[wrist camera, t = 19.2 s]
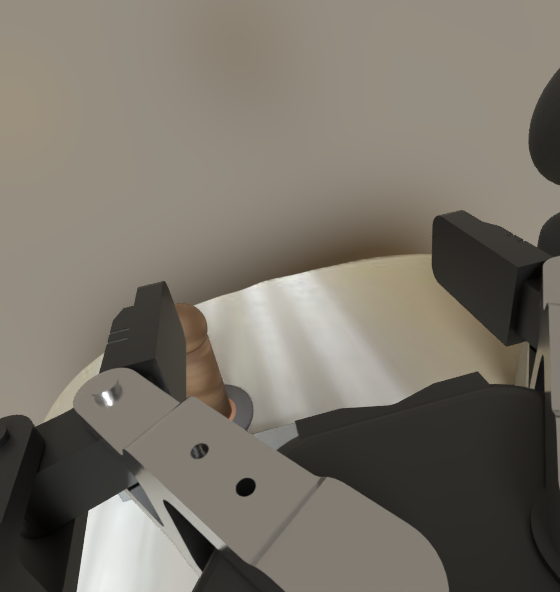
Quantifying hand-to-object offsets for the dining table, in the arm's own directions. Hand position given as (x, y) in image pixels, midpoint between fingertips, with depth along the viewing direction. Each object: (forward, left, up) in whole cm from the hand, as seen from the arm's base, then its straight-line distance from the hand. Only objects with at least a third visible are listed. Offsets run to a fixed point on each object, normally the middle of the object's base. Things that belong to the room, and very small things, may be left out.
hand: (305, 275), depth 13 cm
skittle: (-19, -22, -31) cm, 43 cm away
